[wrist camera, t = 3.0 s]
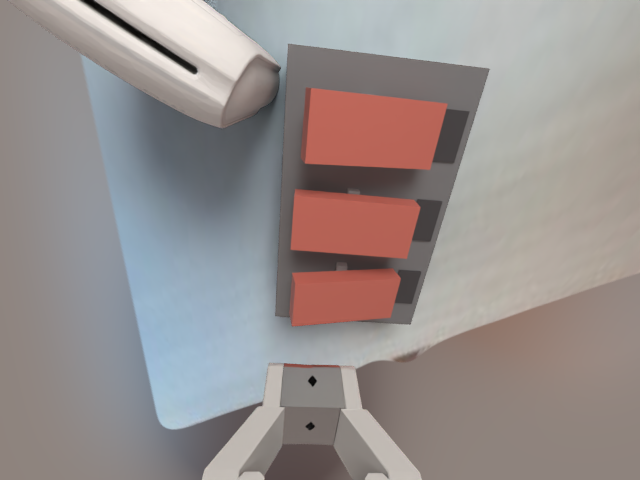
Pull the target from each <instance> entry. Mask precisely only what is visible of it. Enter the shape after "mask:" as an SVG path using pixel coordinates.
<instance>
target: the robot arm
mask: <svg viewBox="0 0 640 480" xmlns="http://www.w3.org/2000/svg"><path fill="white" fill-rule="evenodd" d="M282 444H320V445H334V448H335V450H336V452H337V454H338V455H339V457H340V459H341V461H342V462H343V464H344V465H345V468H346V469H347V471H348V473H349V475H350V476H351V478H352V479H353V480H422V479H421V475H420V472H419V471H418V470H417V469H416V468H415V466H414V465H413V464H412V463H411V462H410V460H409V459H408V458H407V457H406V456H405V454H404V453H403V452H402V451H401V450H400V449H399V447H398V446H397V445H396V444H395V443H394V441H393V440H392V439H391V438H390V437H389V435H388V434H387V433H386V432H385V431H384V430H383V429H382V427H381V426H380V425H379V424H378V423H377V421H376V420H375V419H374V418H373V416H372V415H371V414H370V413H369V412H368V410H363V409H362V404H361V398H360V393H359V387H358V382H357V376H356V371H355V368H354V366H338V365H301V364H286V363H284V368H283V363H269V365H268V369H267V376H266V384H265V391H264V398H263V405H262V406H261V407H257V408H256V409H255V410H254V412H253V413H252V414H251V415H250V416H249V418H248V419H247V420H246V421H245V423H243V425H242V426H241V427H240V428H239V429H238V431H237V432H236V433H235V434H234V435H233V436H232V438H231V439H230V440H229V441H228V442H227V444H226V445H225V446H224V447H223V448H222V450H221V451H220V452H219V453H218V454H217V455H216V457H215V458H214V459H213V460H212V461H211V463H210V464H209V465H208V466H207V467H206V468H205V470H204V474H203V477H202V480H264V475H265V473H266V472H267V470H268V469H269V467H270V465H271V464H272V462H273V460H274V459H275V457H276V455H277V454H278V452H279V450H280V448H281V447H282Z"/></svg>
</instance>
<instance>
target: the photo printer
mask: <svg viewBox="0 0 640 480" xmlns="http://www.w3.org/2000/svg"><path fill="white" fill-rule="evenodd" d="M8 1H9V2H10V3H11V4H13V5H14V6H15V7H16V8H17V9H19V10H20V11H21V12H23V13H24V14H25V15H26V16H28V17H29V18H30V19H32V20H33V21H34V22H36V23H37V24H39V25H40V26H41V27H43V28H44V29H46V30H47V31H48V32H50V33H52V34H53V35H54V36H55V37H57V38H58V39H60V40H61V41H63V42H64V43H66V44H67V45H69V46H70V47H72V48H73V49H75V50H76V51H78V52H79V53H81V54H82V55H84V56H86V57H87V58H89V59H90V60H92V61H93V62H95V63H96V64H98V65H100V66H101V67H103V68H105V69H106V70H108V71H109V72H111V73H113V74H114V75H116V76H118V77H119V78H121V79H123V80H124V81H126V82H127V83H129V84H131V85H133V86H134V87H136V88H138V89H139V90H141V91H143V92H145V93H146V94H148V95H150V96H152V97H153V98H155V99H157V100H159V101H161V102H163V103H164V104H166V105H168V106H170V107H172V108H174V109H175V110H177V111H179V112H181V113H183V114H185V115H187V116H189V117H191V118H194V119H196V120H198V121H201V122H204V123H206V124H209V125H212V126H215V127H219V128H225V127H228V126H230V125H233V124H235V123H237V122H240V121H242V120H244V119H246V118H249V117H251V116H253V115H255V114H257V113H258V111H259V109H260V108H262V107H264V106H266V105H268V104H269V103H270V102H271V101H272V100H273V99H274V97H275V96H276V94H277V91H278V88H279V74H278V73H279V71H280V69H281V67H280V65H279V64H278V63H277V62H276V61H275V59H274V58H273V57H272V56H271V55H270V54H269V53H268V52H267V51H265V50H264V49H263V48H262V47H261V46H259V45H258V43H257V42H255V41H253V40H252V39H251V38H250V37H248V36H247V35H246V34H244V33H243V32H242V31H241V30H239V29H238V28H237V27H235V26H234V25H233V24H231V23H230V22H229V21H228V20H227V19H226V17H225V16H223V15H221V14H219V13H218V12H217V11H216V10H214V9H213V8H212V7H211V6H209V5H208V4H207V3H206V2H204V1H203V0H8Z"/></svg>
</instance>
